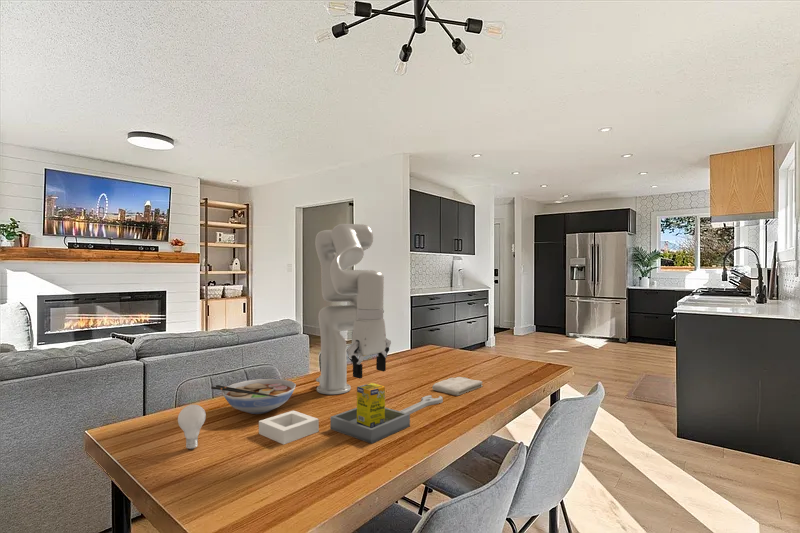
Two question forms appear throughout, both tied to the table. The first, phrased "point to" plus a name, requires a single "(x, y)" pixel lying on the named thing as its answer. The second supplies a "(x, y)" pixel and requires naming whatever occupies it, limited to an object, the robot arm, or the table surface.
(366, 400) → the supplement box
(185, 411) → the lightbulb
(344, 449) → the table surface
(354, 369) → the robot arm
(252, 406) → the ramen bowl
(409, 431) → the table surface
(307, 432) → the socket collar
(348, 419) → the tray
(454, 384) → the washcloth
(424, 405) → the adjustable wrench
